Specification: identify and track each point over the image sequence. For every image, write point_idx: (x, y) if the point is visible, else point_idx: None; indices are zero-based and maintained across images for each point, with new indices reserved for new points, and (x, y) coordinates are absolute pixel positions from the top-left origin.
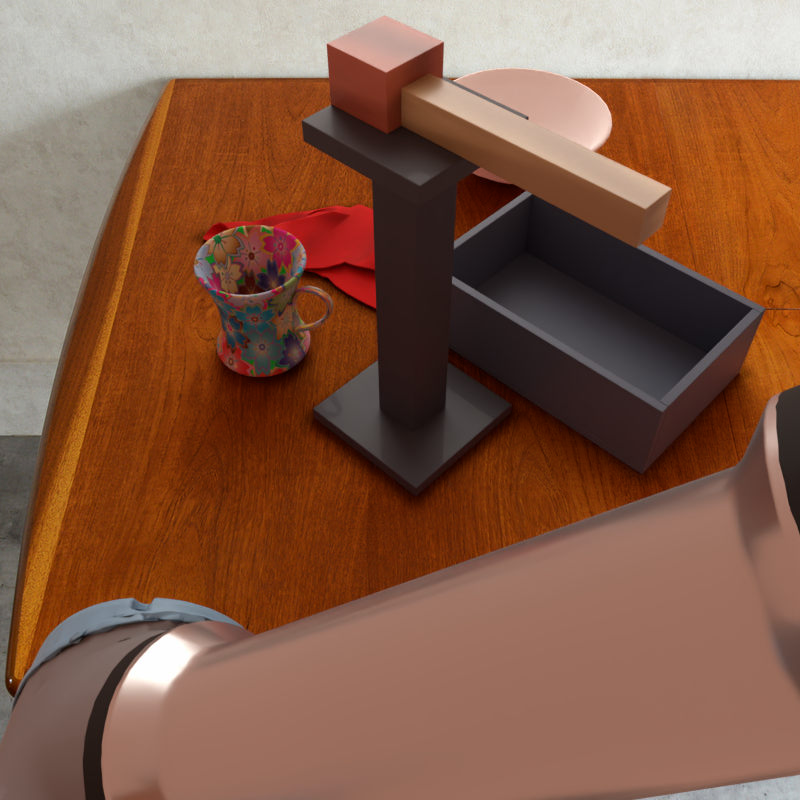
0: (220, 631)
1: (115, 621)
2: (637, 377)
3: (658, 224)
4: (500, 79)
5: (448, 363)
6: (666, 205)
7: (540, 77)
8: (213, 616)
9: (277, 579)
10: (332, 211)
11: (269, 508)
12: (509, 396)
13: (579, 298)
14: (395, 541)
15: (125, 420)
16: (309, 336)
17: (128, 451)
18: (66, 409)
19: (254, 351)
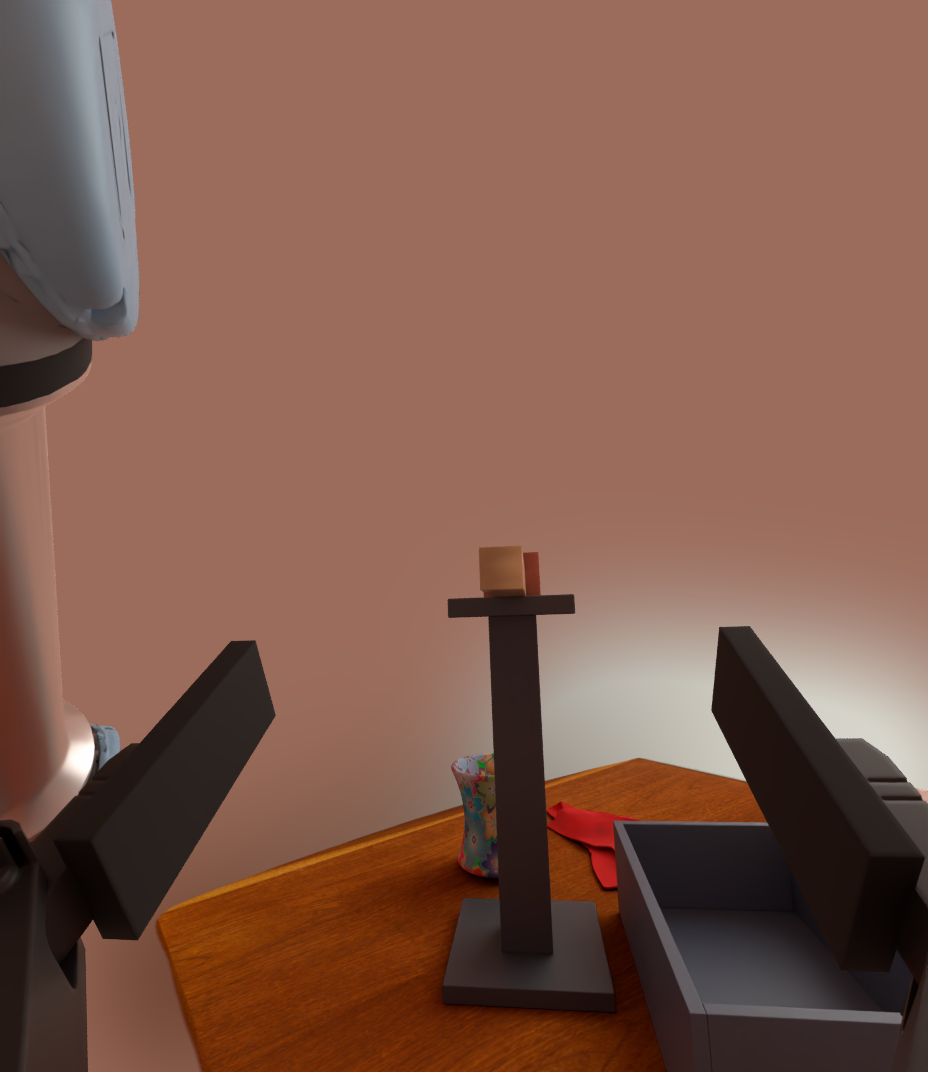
0: (76, 721)
1: (91, 724)
2: None
3: (513, 580)
4: None
5: (599, 932)
6: (519, 562)
7: (921, 795)
8: (110, 753)
9: (289, 974)
10: (638, 820)
11: (357, 936)
12: (634, 1001)
13: (820, 971)
14: (380, 1019)
15: (379, 855)
16: None
17: (356, 866)
18: (368, 837)
19: (469, 842)
